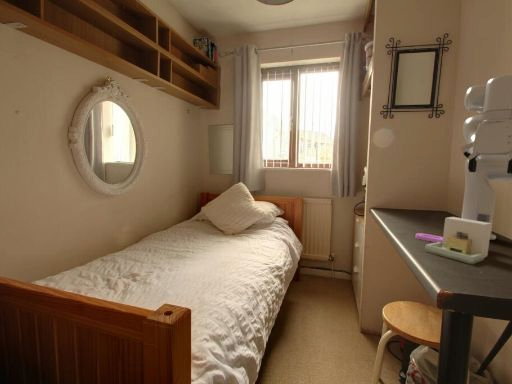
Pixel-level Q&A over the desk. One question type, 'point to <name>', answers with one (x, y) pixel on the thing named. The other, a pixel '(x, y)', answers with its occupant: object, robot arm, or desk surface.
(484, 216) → the grey upright plate
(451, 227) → the block
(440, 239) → the bracket
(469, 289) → the desk surface
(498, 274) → the desk surface
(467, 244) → the block
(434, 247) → the tray
